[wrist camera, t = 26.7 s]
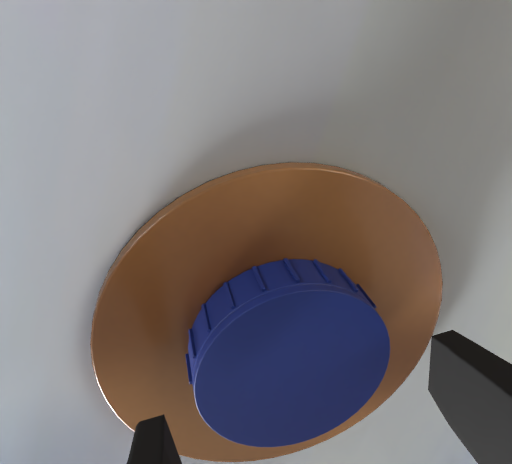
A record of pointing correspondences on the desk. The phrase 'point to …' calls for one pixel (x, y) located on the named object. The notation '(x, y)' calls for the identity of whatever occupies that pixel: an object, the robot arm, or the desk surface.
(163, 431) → the robot arm
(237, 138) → the desk surface
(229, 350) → the lid
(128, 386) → the coaster
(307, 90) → the desk surface
